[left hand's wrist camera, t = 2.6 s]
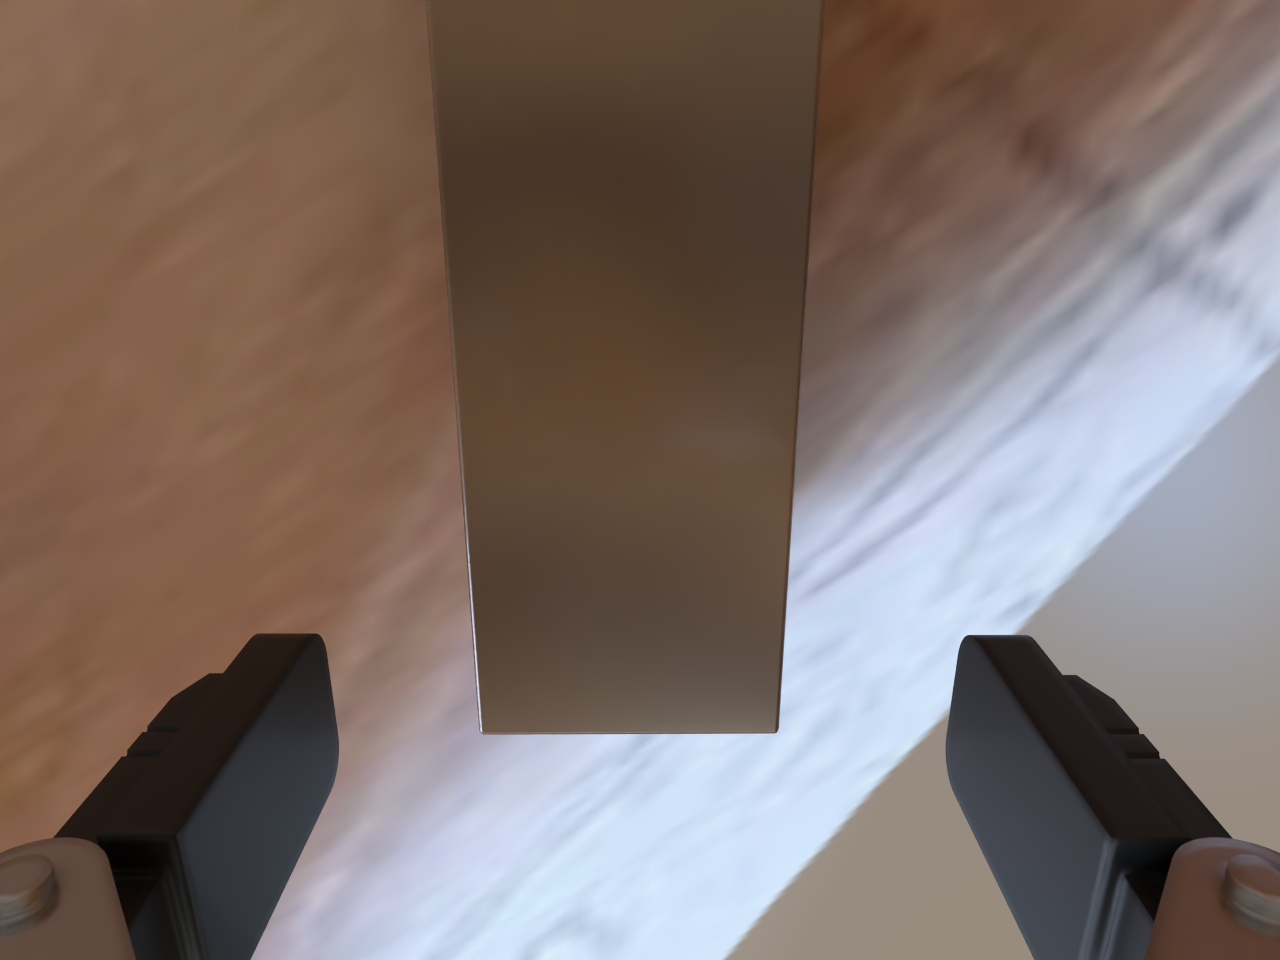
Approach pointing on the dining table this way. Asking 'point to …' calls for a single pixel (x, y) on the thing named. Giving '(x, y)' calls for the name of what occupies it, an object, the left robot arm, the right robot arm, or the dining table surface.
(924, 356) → the dining table surface
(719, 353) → the bar
